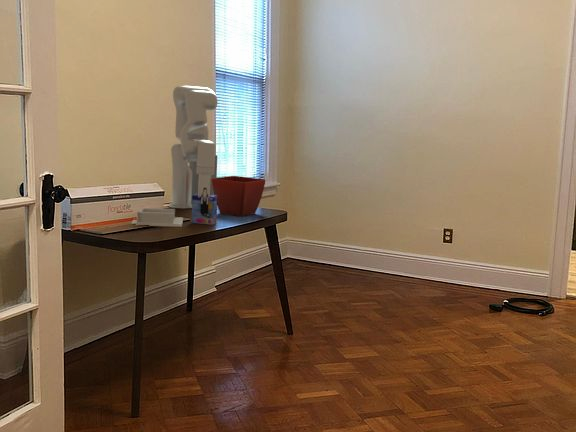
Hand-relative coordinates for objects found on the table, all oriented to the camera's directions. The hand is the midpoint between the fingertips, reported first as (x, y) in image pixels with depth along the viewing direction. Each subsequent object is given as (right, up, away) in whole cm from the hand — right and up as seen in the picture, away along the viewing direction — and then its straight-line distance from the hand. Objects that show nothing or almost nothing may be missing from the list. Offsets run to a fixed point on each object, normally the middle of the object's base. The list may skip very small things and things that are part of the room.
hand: (204, 211), depth 248 cm
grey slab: (-10, +6, +61) cm, 62 cm away
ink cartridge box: (0, -5, +1) cm, 5 cm away
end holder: (-19, -5, -4) cm, 20 cm away
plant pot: (+12, -1, +30) cm, 32 cm away
